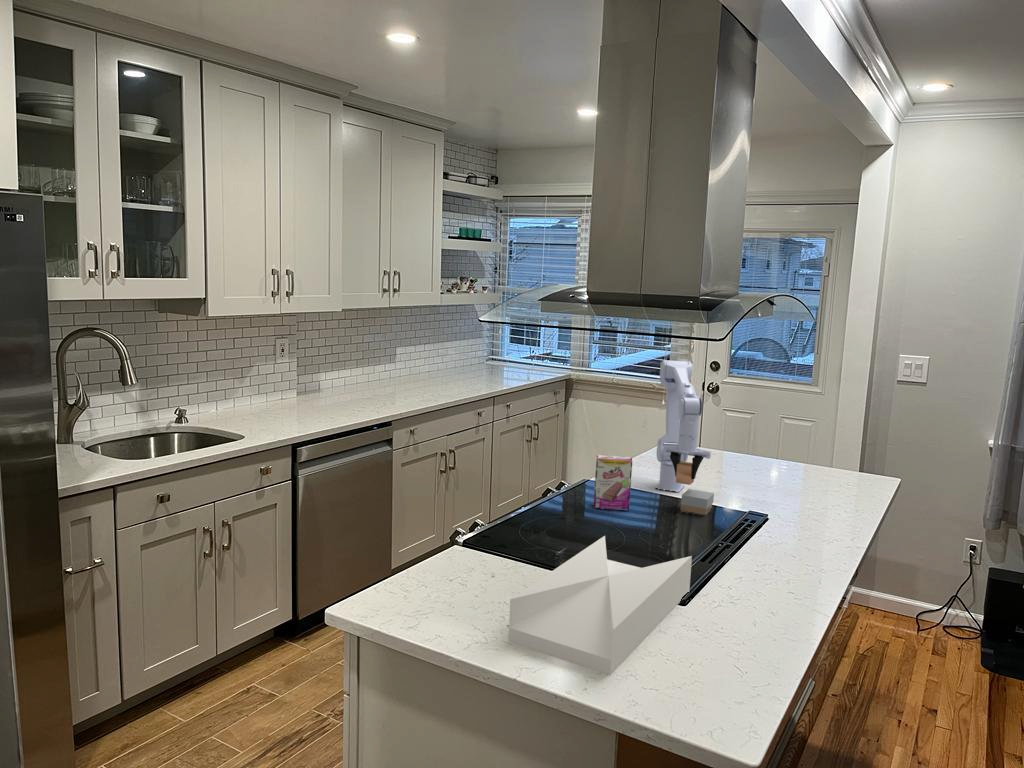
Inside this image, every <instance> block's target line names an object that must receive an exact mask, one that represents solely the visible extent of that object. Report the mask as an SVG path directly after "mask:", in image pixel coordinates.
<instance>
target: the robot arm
mask: <svg viewBox="0 0 1024 768" xmlns="http://www.w3.org/2000/svg"><path fill="white" fill-rule="evenodd" d="M659 371H660V372H659V381H660V385H662V386H664V388H665V434H664V435H662V436H660V438H659V439H658V440H657V443H656V444H657V445H656V446H657V447H656V460H657V461H658V462H659V463H660V465H659V466H660V469H659V470H660V471H659V480H658V481H659V484H658V485H656V486H655V488H659V489H665V490H670V491H669V492H671V491H677V492H676V493H679V492H680V491H681V490H682V489H684V487H686V484H681V483H676V474H677V464H678V463H679V462H680V461H683V462H688V459H689V456H691V457H692V461H691V463H692V477H691V479H694V480H695V479H696V478H697V477H696V475H697V474H698V473H697V472H698V469H699V467H700V465H701V463H702V462H703V460H704V458H705V459H707V460H710V459H711V458H712V457H711V456H712V451H709V450H705V449H704V450H703V449H700V448H698V436H699V435H698V433H699V420H700V416H701V415H702V413H703V400H702V398H701V397H700V396H697V393H696V390H695V387H694V385H693V384H692V383H690V380H691V377H692V375H693V365H692V362H691V361H690V360H666V359H663V360H661V363H660V368H659ZM659 489H658V490H659ZM665 490H664V491H665Z"/></svg>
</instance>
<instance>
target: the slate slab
mask: <svg viewBox="0 0 1024 768" xmlns="http://www.w3.org/2000/svg"><path fill="white" fill-rule="evenodd" d="M714 496H715V493H714V492H708V491H704V490H699V489H692V488H688V489H687V490H686V491H685V492H683V493H682V494H681V500H680V501H681V502H680V505H681V504H682V505H688V506H693V507H699V508H704V509H707V508H708V507H709V506H710V505H711V504H712V505H713V503H714V500H715V499H714Z"/></svg>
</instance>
